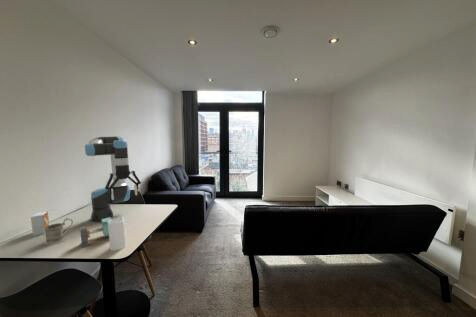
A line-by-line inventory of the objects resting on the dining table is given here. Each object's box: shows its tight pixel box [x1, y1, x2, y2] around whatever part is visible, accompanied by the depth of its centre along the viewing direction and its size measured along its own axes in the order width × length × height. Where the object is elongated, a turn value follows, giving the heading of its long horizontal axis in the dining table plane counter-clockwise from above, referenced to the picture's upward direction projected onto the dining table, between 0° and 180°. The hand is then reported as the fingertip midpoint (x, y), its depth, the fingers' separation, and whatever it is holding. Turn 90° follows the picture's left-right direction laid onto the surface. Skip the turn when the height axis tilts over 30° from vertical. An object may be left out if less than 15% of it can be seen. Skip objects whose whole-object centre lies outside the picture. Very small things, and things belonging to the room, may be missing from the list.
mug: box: [44, 217, 74, 246], centre depth 128 cm, size 14×10×12 cm
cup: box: [108, 217, 127, 251], centre depth 118 cm, size 8×8×16 cm
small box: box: [30, 211, 50, 237], centre depth 139 cm, size 8×6×13 cm
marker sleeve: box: [101, 217, 112, 237], centre depth 129 cm, size 7×5×9 cm
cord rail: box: [79, 226, 109, 248], centre depth 126 cm, size 7×19×10 cm, turn 130°
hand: (124, 197), depth 132 cm, fingers open, 13 cm apart
